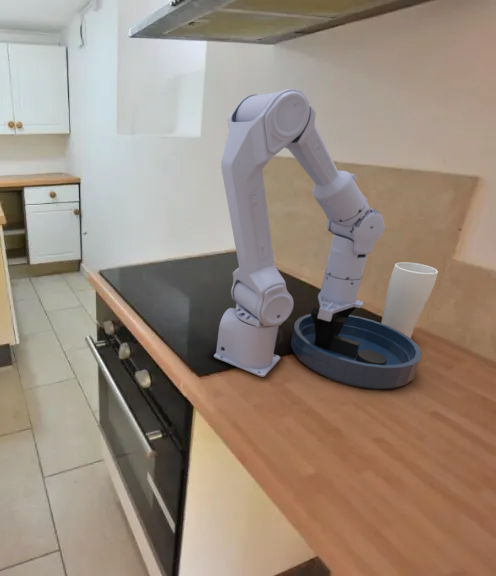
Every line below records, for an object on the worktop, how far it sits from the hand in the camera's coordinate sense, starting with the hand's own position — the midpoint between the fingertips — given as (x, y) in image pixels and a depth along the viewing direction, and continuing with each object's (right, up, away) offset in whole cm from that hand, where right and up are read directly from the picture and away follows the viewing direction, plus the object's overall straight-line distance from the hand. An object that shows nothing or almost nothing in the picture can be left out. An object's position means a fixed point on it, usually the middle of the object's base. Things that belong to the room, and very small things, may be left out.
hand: (326, 341), depth 72 cm
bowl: (+3, -3, -2) cm, 4 cm away
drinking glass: (+17, 0, +5) cm, 18 cm away
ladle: (+3, -2, -2) cm, 4 cm away
